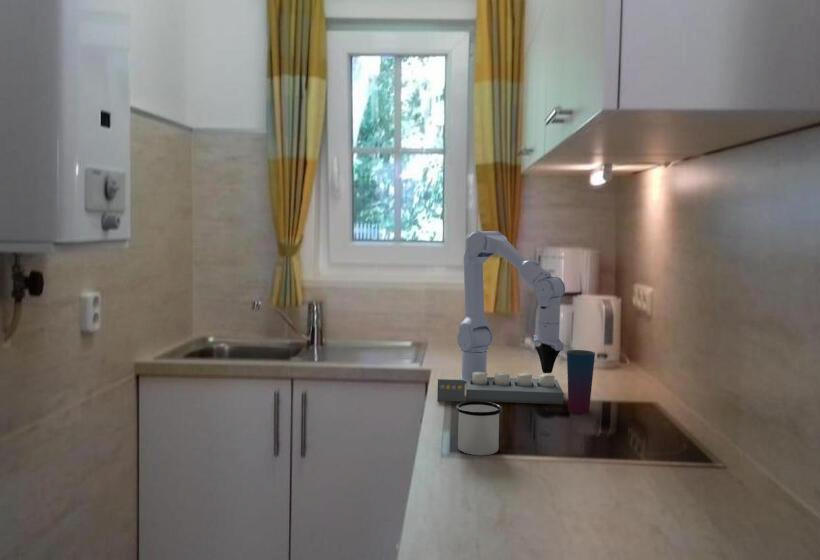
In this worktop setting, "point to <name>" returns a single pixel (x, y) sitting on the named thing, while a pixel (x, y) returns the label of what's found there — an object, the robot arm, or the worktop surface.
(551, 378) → the button
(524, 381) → the button
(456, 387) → the card
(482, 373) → the button
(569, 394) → the cup
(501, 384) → the button
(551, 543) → the worktop surface
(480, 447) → the mug
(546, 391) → the board
